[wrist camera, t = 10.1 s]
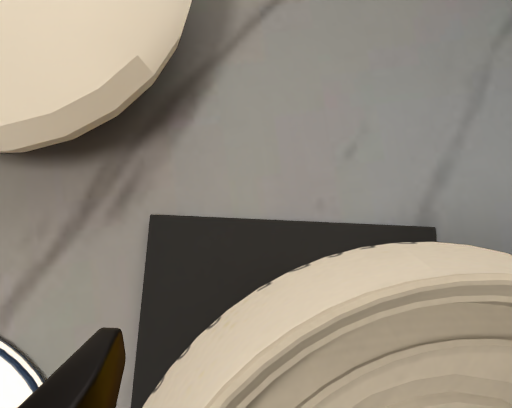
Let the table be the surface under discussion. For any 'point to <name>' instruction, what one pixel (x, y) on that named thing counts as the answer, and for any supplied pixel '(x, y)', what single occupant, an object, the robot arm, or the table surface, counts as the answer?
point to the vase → (78, 63)
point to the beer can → (360, 336)
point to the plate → (16, 377)
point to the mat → (227, 274)
